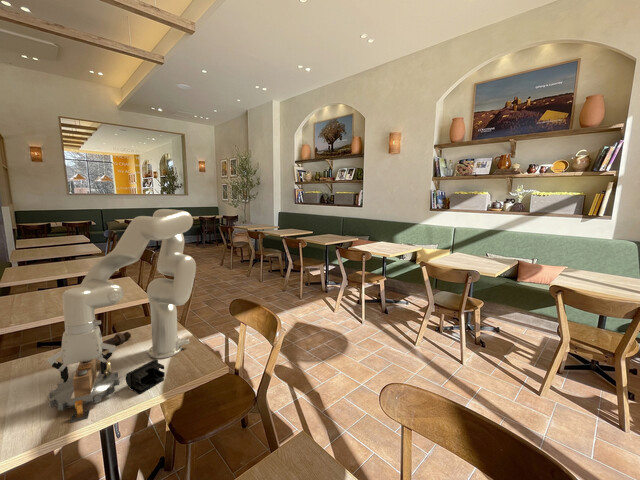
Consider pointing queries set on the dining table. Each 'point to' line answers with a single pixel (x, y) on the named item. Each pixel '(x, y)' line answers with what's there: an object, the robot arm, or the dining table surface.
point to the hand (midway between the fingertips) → (85, 375)
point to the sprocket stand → (80, 413)
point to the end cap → (145, 377)
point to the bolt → (118, 338)
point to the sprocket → (101, 387)
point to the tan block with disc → (84, 377)
